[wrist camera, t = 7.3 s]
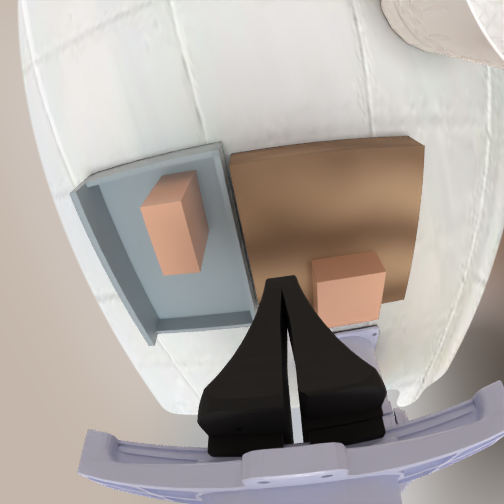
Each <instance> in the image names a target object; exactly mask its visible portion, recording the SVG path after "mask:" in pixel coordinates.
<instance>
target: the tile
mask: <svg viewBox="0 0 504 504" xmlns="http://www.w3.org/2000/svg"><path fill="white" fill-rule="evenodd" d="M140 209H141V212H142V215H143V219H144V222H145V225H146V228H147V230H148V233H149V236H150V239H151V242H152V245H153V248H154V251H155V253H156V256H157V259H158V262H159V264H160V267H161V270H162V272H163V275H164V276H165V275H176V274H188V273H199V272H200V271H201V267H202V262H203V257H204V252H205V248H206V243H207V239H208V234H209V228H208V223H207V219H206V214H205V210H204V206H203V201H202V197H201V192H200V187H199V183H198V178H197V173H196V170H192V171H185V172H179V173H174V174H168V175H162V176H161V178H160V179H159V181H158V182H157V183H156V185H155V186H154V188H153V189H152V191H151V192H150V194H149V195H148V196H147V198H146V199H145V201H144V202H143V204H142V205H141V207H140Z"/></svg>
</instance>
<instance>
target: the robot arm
mask: <svg viewBox="0 0 504 504" xmlns="http://www.w3.org/2000/svg"><path fill="white" fill-rule="evenodd" d="M287 328H288V333H289V337H290V342H291V347H292V351H293V356H294V361H295V365H296V374H297V384H298V393H299V402H300V412H301V422H302V432H303V442H304V443H297V444H294V441H293V429H292V418H291V407H290V396H289V385H288V373H287ZM378 334H379V327H378V326H374V327H368V328H363V329H358V330H352V331H346V332H340V333H333V332H332V331H331V330H330V329H329V328H328V327H327V326H326V325H325V323H324V322H323V321H322V320H321V318H320V317H319V316H318V314H317V313H316V312H315V310H314V309H313V307H312V306H311V304H310V303H309V301H308V300H307V298H306V296H305V295H304V293H303V291H302V289H301V287H300V285H299V283H298V280H297V277H296V276H295V275H290V276H283V277H276V278H268V279H267V280H266V281H265V286H264V291H263V295H262V298H261V301H260V304H259V307H258V310H257V312H256V315H255V317H254V320H253V322H252V324H251V326H250V328H249V330H248V332H247V334H246V336H245V338H244V340H243V341H242V343H241V345H240V346H239V348H238V349H237V351H236V352H235V354H234V355H233V357H232V358H231V359H230V361H229V362H228V363H227V365H226V366H225V367H224V368H223V370H222V371H221V372H220V373H219V374H218V375H217V376H216V378H215V379H214V380H213V381H212V382H211V383H210V384H209V385H208V386H207V387H206V388H205V389H204V391H203V394H202V397H201V400H200V404H199V410H198V421H197V422H198V424H199V426H200V427H201V428H202V429H203V430H204V431H205V432H206V433H207V435H208V436H209V439H208V448H199V447H197V448H196V447H177V446H163V445H153V444H144V443H135V442H128V441H122V440H118V439H117V438H116V437H115V436H113V435H111V434H109V433H106V432H100V431H95V430H88V432H87V435H86V439H85V443H84V446H83V450H82V455H81V459H80V463H79V467H78V474H80V475H82V476H84V477H86V478H88V479H90V480H92V481H94V482H96V483H98V484H101V485H103V486H105V487H108V488H112V489H116V490H120V491H124V492H128V493H132V494H137V495H142V496H147V497H151V498H157V499H162V500H168V501H174V502H180V503H187V504H402V501H401V495H400V494H401V493H402V492H403V491H404V489H405V488H406V487H407V486H408V485H409V484H410V483H411V482H412V480H414V479H417V478H420V477H422V476H425V475H428V474H430V473H433V472H435V471H437V470H440V469H442V468H445V467H447V466H449V465H451V464H454V463H456V462H458V461H460V460H462V459H464V458H466V457H468V456H470V455H473V454H475V453H477V452H478V451H480V450H483V449H484V448H486V447H488V446H490V445H492V444H494V443H495V442H496V441H498V440H499V439H500V438H501V437H503V436H504V387H503V384H502V382H501V381H497V382H495V383H492V384H490V385H488V386H486V387H484V388H482V389H480V390H479V391H478V392H477V393H476V394H475V395H474V397H473V398H472V399H470V400H467V401H465V402H463V403H460V404H458V405H455V406H452V407H450V408H447V409H444V410H441V411H438V412H436V413H433V414H430V415H427V416H424V417H420V418H417V419H414V420H411V421H408V418H407V415H406V412H405V411H404V410H402V409H400V408H399V407H397V408H394V409H393V410H394V415H395V418H394V415H393V411H392V407H391V404H390V401H388V398H387V391H386V387H385V385H384V383H383V380H382V377H381V373H380V370H379V366H378V363H377V360H376V356H375V353H374V352H375V347H376V343H377V339H378Z"/></svg>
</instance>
